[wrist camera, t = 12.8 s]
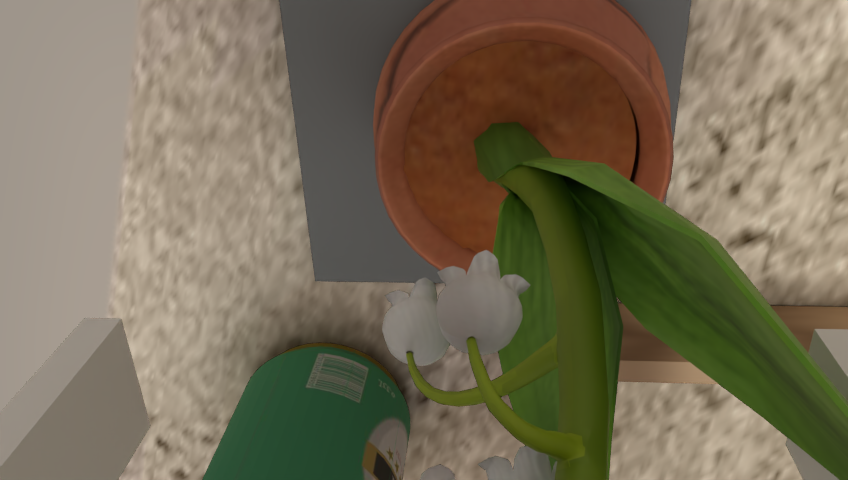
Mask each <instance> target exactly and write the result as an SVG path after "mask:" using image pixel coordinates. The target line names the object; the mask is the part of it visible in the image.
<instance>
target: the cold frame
mask: <svg viewBox="0 0 848 480" xmlns="http://www.w3.org/2000/svg"><path fill="white" fill-rule="evenodd" d="M618 306H619V310H620V314H621V319H622V323H623V336H622V346H621V355H620V365H619V374H618V381H623V382H661V383H698V384H718V383H717V382H715V381H714V380H713V379H711V378H710V377H709V376H707V375H706V374H705V373H703V372H702V371H701V370H699V369H698V368H697V367H695V366H694V365H693V364H692V363H690V362H689V361H688V360H686V359H685V358H684V357H682V356H681V355H680V354H678V353H677V352H676V351H674V350H673V349H672V348H670V347H669V346H668V345H666V344H665V343H664V342H662V341H661V340H660V339H658V338H657V337H656V336H654V335H653V334H652V333H650V332H649V331H648V330H646V329H645V328H644V327H643V325H642V324H641V323H640V322H639V321H638V320H637V319H636V318H635V317H634V315H633V314H632V313H631V312H630V311H629V310H628V309H627V308H626V307H625V305H624V304H623V303H618ZM771 307H772V308H773V310H774V311H775V312H776V313H777V315H778V316H779V317H780V318H781V320H782V321H783V322H784V323H785V325H786V326H787V327H788V328H789V330H790V331H791V332H792V333H793V334H794V336H795V337H796V338H797V339H798V341H799V342H800V343H801V344H802V346H803V347H804V348H805V349H806V351H807V352H808V353H809V349H810V345H811V340H812V336H813V332H814V329H848V307H823V306H771Z"/></svg>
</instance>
